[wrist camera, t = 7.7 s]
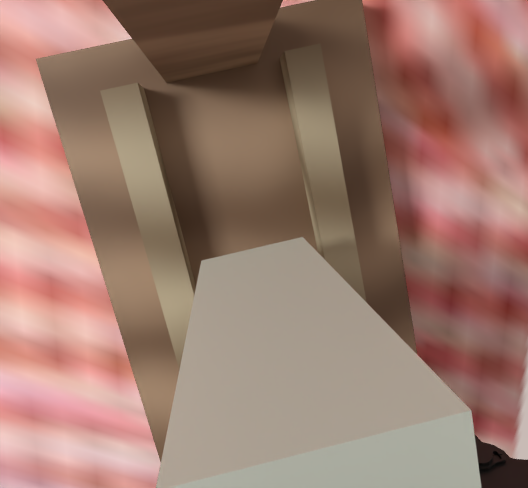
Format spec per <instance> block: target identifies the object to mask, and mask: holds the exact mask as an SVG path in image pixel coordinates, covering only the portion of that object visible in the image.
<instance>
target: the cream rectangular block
mask: <svg viewBox="0 0 528 488" xmlns="http://www.w3.org/2000/svg"><path fill="white" fill-rule="evenodd" d="M156 488H481V480H480V473H479V465H478V457H477V450H476V442H475V435H474V427H473V419H472V412H471V409H470V408H469V407H468V406H467V405H466V404H465V403H464V402H463V401H462V400H461V399H460V398H459V397H458V396H457V395H456V394H455V393H454V392H453V391H452V390H451V389H450V388H449V387H448V386H447V385H446V384H445V383H444V382H443V381H442V380H441V379H440V378H439V377H438V376H437V375H436V373H435V372H434V371H433V370H432V369H431V368H430V367H429V366H428V365H427V364H426V363H425V362H424V361H423V360H422V359H421V358H420V357H419V356H418V355H417V354H416V353H415V352H414V351H413V350H412V349H411V348H410V347H409V346H408V345H407V344H406V343H405V342H404V341H403V340H402V339H401V338H400V336H399V335H398V334H397V333H396V332H395V331H394V330H393V329H392V328H391V327H390V326H389V325H388V324H387V323H386V322H385V321H384V320H383V319H382V318H381V317H380V316H379V315H378V314H377V313H376V312H375V311H374V310H373V309H372V308H371V307H370V306H369V305H368V304H367V303H366V302H365V301H364V299H363V298H362V297H361V296H360V295H359V294H358V293H357V292H356V291H355V290H354V289H353V288H352V287H351V286H350V285H349V284H348V283H347V282H346V281H345V280H344V279H343V278H342V277H341V276H340V275H339V274H338V273H337V272H336V271H335V270H334V269H333V268H332V267H331V266H330V265H329V264H328V262H327V261H326V260H325V259H324V258H323V257H322V256H321V255H320V254H319V253H318V252H317V251H316V250H315V249H314V248H313V247H312V246H311V245H310V244H309V243H308V242H307V241H306V240H305V239H304V238H303V237H300V238H296V239H292V240H287V241H283V242H279V243H274V244H270V245H266V246H262V247H257V248H253V249H249V250H244V251H240V252H236V253H232V254H227V255H223V256H219V257H215V258H210V259H206V260H202V261H201V265H200V270H199V275H198V280H197V285H196V290H195V295H194V300H193V305H192V310H191V315H190V320H189V325H188V330H187V335H186V340H185V345H184V350H183V355H182V360H181V365H180V370H179V375H178V380H177V385H176V390H175V395H174V400H173V405H172V410H171V415H170V420H169V425H168V430H167V435H166V440H165V445H164V450H163V455H162V460H161V465H160V470H159V475H158V480H157V485H156Z"/></svg>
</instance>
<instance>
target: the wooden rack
mask: <svg viewBox="0 0 528 488" xmlns="http://www.w3.org/2000/svg"><path fill="white" fill-rule="evenodd" d="M103 1H104V3H105V4H106V5H107V6H108V8H109V9H110V10H111V12H112V13H113V14H114V16H115V17H116V18H117V19H118V21H119V22H120V23H121V25H122V26H123V27H124V28H125V30H126V31H127V32H128V34H129V35H130V36H131V38H132V39H129V40H124V41H119V42H115V43H110V44H105V45H100V46H96V47H91V48H86V49H81V50H76V51H72V52H67V53H62V54H57V55H53V56H48V57H43V58H38V59H36V61H37V64H38V67H39V71H40V74H41V77H42V80H43V84H44V87H45V90H46V93H47V97H48V100H49V103H50V106H51V109H52V113H53V116H54V119H55V122H56V126H57V129H58V132H59V135H60V138H61V142H62V145H63V148H64V151H65V155H66V158H67V161H68V164H69V168H70V171H71V174H72V177H73V180H74V184H75V187H76V190H77V193H78V197H79V200H80V203H81V206H82V209H83V213H84V216H85V219H86V222H87V226H88V229H89V232H90V235H91V239H92V242H93V245H94V248H95V251H96V255H97V258H98V261H99V264H100V268H101V271H102V274H103V277H104V280H105V284H106V287H107V290H108V293H109V297H110V300H111V303H112V306H113V310H114V313H115V316H116V319H117V322H118V326H119V329H120V332H121V335H122V339H123V342H124V345H125V348H126V351H127V355H128V358H129V361H130V364H131V368H132V371H133V374H134V377H135V381H136V384H137V387H138V390H139V393H140V397H141V400H142V403H143V406H144V410H145V413H146V416H147V419H148V422H149V426H150V429H151V432H152V435H153V439H154V442H155V445H156V448H157V452H158V455H159V458H160V461H161V460H162V455H163V450H164V445H165V440H166V435H167V430H168V425H169V420H170V415H171V410H172V405H173V400H174V395H175V390H176V385H177V380H178V375H179V370H180V365H181V360H182V355H183V350H184V345H185V340H186V335H187V330H188V325H189V320H190V315H191V310H192V305H193V300H194V295H195V290H196V285H197V280H198V275H199V270H200V265H201V261H202V260H206V259H210V258H215V257H219V256H223V255H227V254H232V253H236V252H240V251H244V250H249V249H253V248H257V247H262V246H266V245H270V244H274V243H279V242H283V241H287V240H292V239H296V238H300V237H303V238H304V239H305V240H306V241H307V242H308V243H309V244H310V245H311V246H312V247H313V248H314V249H315V250H316V251H317V252H318V253H319V254H320V255H321V256H322V257H323V258H324V259H325V260H326V261H327V262H328V264H329V265H330V266H331V267H332V268H333V269H334V270H335V271H336V272H337V273H338V274H339V275H340V276H341V277H342V278H343V279H344V280H345V281H346V282H347V283H348V284H349V285H350V286H351V287H352V288H353V289H354V290H355V291H356V292H357V293H358V294H359V295H360V296H361V297H362V298H363V299H364V301H365V302H366V303H367V304H368V305H369V306H370V307H371V308H372V309H373V310H374V311H375V312H376V313H377V314H378V315H379V316H380V317H381V318H382V319H383V320H384V321H385V322H386V323H387V324H388V325H389V326H390V327H391V328H392V329H393V330H394V331H395V332H396V333H397V334H398V335H399V336H400V338H401V339H402V340H403V341H404V342H405V343H406V344H407V345H408V346H409V347H410V348H411V349H412V350H413V351H414V352H415V353H416V354H417V350H416V344H415V337H414V331H413V325H412V318H411V312H410V305H409V299H408V293H407V286H406V280H405V273H404V267H403V260H402V254H401V248H400V241H399V235H398V228H397V222H396V216H395V209H394V203H393V196H392V190H391V184H390V177H389V171H388V164H387V158H386V152H385V145H384V139H383V132H382V126H381V120H380V113H379V107H378V100H377V94H376V88H375V81H374V75H373V68H372V62H371V56H370V49H369V43H368V36H367V30H366V24H365V17H364V11H363V4H362V0H315V1H310V2H305V3H300V4H296V5H291V6H286V7H281V8H280V6H281V3H282V1H283V0H103Z"/></svg>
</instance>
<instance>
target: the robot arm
mask: <svg viewBox="0 0 528 488" xmlns="http://www.w3.org/2000/svg"><path fill="white" fill-rule="evenodd" d="M474 435H475V434H474ZM475 442H476V450H477V457H478V465H479V473H480V480H481V488H528V460H521V459H520V460H519V459H513V458H510V457H509V456H508V455H507V454H506V453H505V452H504V451H503V450H501V449H499V448H498V447H496V446H494V445H491V444H487V443H483V442H481V441H480V440H479V439H478V437H477V436H476V435H475Z"/></svg>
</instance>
